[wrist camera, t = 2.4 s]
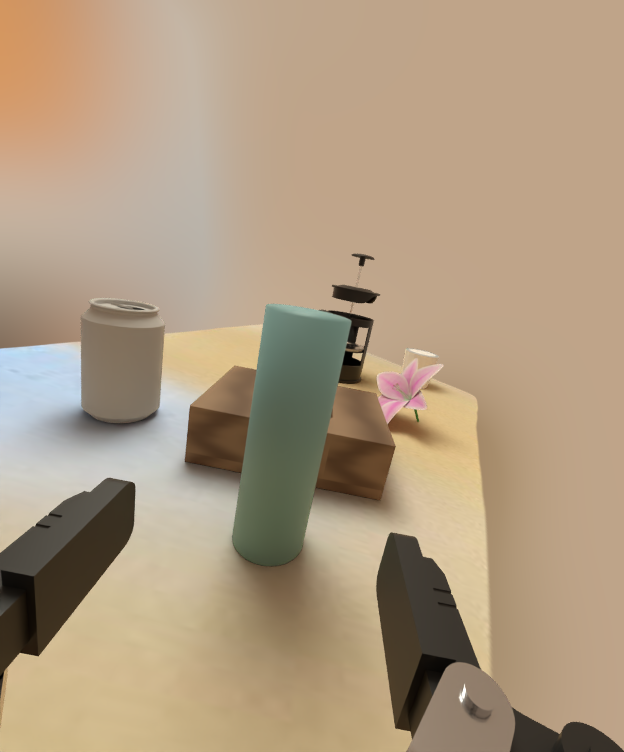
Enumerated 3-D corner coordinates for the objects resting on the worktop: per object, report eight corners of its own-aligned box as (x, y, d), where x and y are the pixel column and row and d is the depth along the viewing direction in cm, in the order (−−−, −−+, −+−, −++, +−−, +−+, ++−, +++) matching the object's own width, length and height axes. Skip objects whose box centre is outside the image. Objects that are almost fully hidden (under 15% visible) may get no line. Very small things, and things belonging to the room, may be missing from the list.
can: (171, 406, 42) (178, 306, 38) (135, 432, 34) (141, 313, 31) (111, 393, 42) (113, 293, 38) (63, 417, 35) (60, 297, 31)
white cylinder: (395, 383, 71) (404, 350, 69) (399, 376, 77) (407, 346, 75) (429, 392, 69) (439, 359, 67) (430, 384, 75) (439, 353, 73)
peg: (222, 557, 22) (257, 308, 18) (242, 507, 27) (273, 301, 22) (299, 572, 22) (354, 327, 18) (305, 520, 27) (349, 316, 22)
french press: (369, 378, 71) (397, 262, 64) (355, 388, 62) (386, 256, 56) (317, 363, 75) (339, 252, 68) (298, 370, 66) (321, 245, 60)
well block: (184, 461, 31) (190, 405, 30) (229, 405, 45) (234, 365, 43) (380, 500, 31) (395, 446, 30) (366, 433, 45) (376, 393, 43)
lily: (372, 404, 59) (360, 356, 55) (445, 396, 55) (439, 343, 51) (367, 454, 49) (352, 401, 45) (456, 449, 46) (449, 390, 41)
